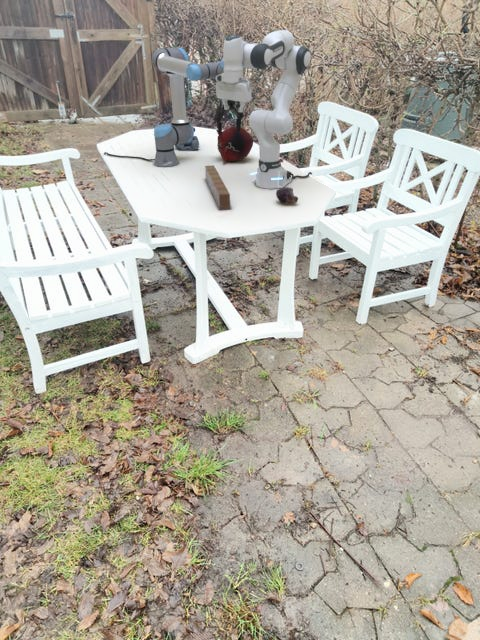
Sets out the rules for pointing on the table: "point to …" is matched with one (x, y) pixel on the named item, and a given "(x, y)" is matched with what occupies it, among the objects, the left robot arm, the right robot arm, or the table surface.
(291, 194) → the rock
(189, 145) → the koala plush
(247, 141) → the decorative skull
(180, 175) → the table surface
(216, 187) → the beam
